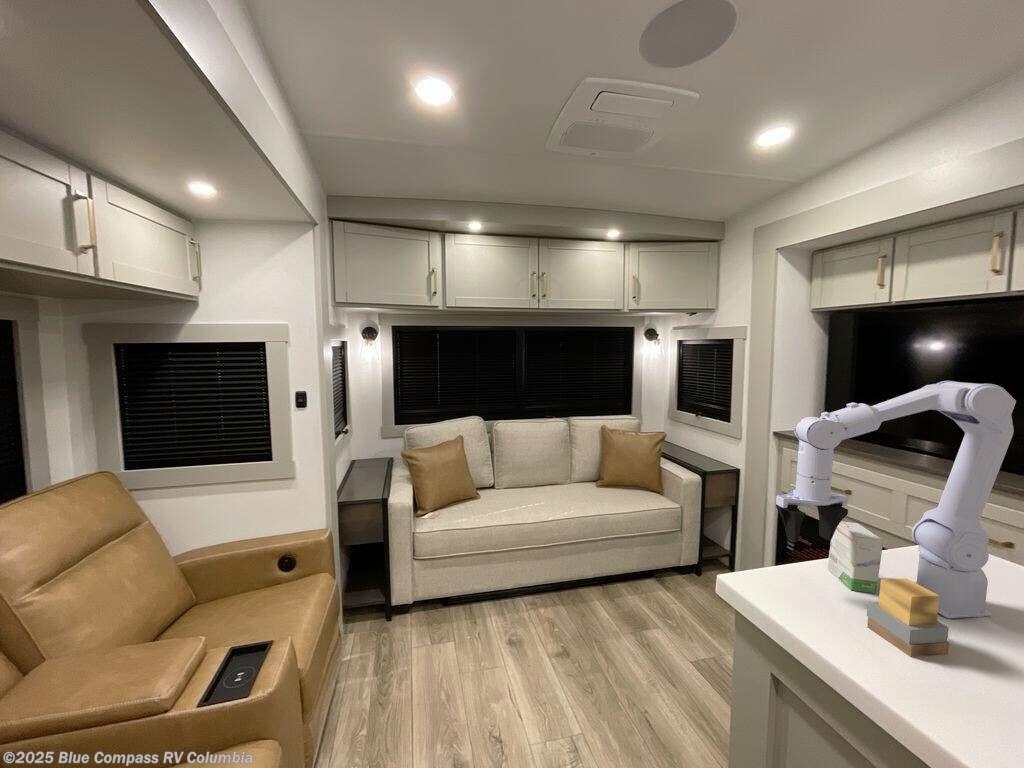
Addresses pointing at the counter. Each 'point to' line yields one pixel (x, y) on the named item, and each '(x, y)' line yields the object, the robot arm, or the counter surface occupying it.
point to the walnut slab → (909, 649)
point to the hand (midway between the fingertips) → (808, 538)
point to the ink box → (855, 556)
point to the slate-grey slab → (907, 627)
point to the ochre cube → (908, 601)
